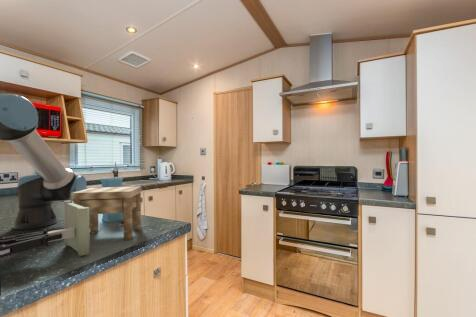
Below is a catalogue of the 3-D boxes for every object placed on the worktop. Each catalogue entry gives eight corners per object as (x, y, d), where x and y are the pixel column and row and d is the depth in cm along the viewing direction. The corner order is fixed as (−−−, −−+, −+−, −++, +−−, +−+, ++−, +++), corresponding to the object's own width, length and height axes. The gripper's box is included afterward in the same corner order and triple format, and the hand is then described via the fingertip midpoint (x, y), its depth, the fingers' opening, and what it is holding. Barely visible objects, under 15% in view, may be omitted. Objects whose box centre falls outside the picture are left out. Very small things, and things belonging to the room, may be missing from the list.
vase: (100, 220, 113) (99, 179, 113) (117, 216, 119) (116, 177, 119) (108, 222, 108) (107, 179, 108) (124, 218, 115) (124, 178, 114)
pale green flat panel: (62, 244, 80) (61, 201, 80) (73, 242, 83) (72, 200, 83) (80, 257, 70) (79, 208, 69) (91, 254, 72) (90, 206, 72)
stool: (72, 243, 83) (71, 193, 83) (92, 230, 97) (91, 187, 97) (131, 240, 85) (130, 191, 85) (142, 228, 99) (141, 186, 99)
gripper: (-39, 261, 62) (69, 238, 79) (-45, 280, 52) (79, 249, 69) (-39, 233, 62) (69, 216, 79) (-46, 246, 52) (78, 224, 69)
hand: (73, 231), depth 74 cm, fingers closed
